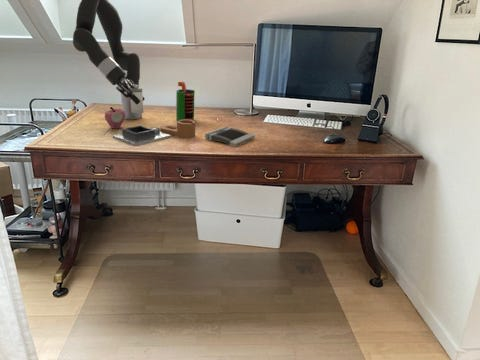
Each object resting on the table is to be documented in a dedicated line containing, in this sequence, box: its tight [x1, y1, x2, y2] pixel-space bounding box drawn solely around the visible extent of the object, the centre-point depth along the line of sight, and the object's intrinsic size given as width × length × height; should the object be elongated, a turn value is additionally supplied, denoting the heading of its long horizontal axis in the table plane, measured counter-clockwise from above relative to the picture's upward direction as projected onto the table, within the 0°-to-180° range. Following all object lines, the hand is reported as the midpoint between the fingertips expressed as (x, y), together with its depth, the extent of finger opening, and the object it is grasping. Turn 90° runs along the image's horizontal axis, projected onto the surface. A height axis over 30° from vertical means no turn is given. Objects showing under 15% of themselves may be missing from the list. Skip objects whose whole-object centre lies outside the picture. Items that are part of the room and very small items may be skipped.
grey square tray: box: [204, 125, 255, 147], centre depth 179 cm, size 17×5×16 cm
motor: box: [175, 81, 195, 122], centre depth 202 cm, size 10×9×20 cm
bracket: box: [159, 119, 196, 140], centre depth 181 cm, size 18×8×7 cm, turn 62°
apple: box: [104, 106, 126, 129], centre depth 185 cm, size 10×9×10 cm
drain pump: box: [131, 84, 144, 114], centre depth 166 cm, size 5×5×12 cm
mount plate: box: [112, 125, 173, 147], centre depth 174 cm, size 20×16×4 cm
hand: (140, 101), depth 167 cm, fingers closed on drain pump, 5 cm apart
